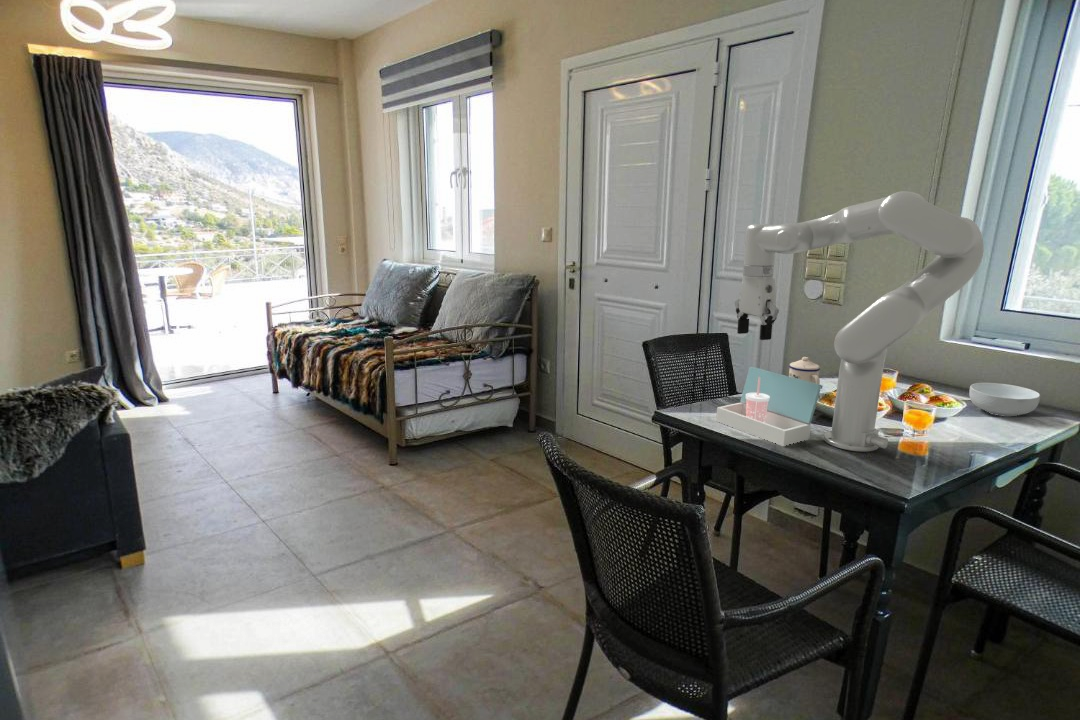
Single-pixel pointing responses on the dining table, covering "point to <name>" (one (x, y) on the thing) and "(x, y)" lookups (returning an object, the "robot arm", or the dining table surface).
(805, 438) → the hinged pencil box
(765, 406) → the beverage cup
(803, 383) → the cover
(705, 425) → the dining table surface
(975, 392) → the cereal bowl
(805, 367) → the teacup with lid
